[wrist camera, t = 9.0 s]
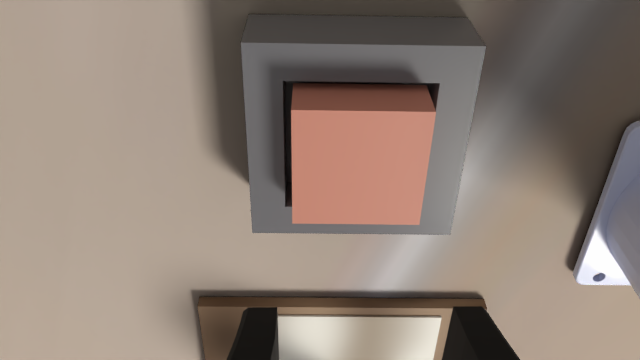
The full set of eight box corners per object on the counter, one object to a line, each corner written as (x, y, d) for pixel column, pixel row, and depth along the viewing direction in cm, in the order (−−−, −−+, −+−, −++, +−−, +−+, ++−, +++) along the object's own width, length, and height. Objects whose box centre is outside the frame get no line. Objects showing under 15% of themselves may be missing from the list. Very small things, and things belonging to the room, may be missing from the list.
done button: (426, 85, 18) (436, 111, 17) (412, 192, 21) (419, 224, 19) (293, 83, 18) (291, 109, 17) (294, 191, 21) (292, 223, 19)
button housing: (467, 17, 19) (486, 46, 17) (438, 194, 23) (450, 234, 21) (248, 14, 19) (240, 42, 17) (257, 192, 23) (252, 232, 21)
